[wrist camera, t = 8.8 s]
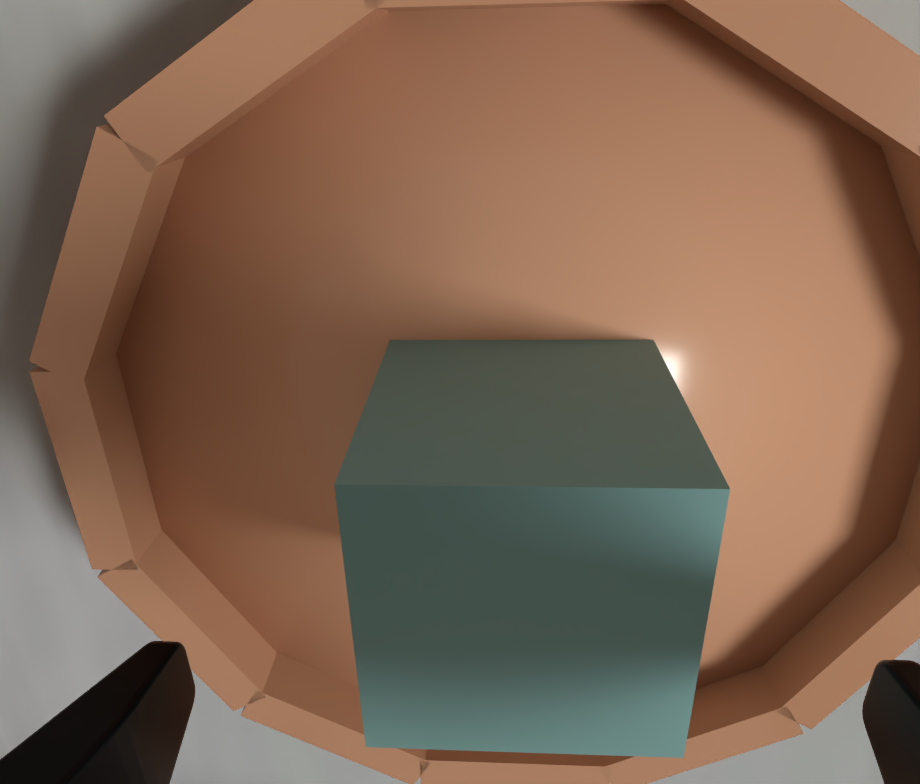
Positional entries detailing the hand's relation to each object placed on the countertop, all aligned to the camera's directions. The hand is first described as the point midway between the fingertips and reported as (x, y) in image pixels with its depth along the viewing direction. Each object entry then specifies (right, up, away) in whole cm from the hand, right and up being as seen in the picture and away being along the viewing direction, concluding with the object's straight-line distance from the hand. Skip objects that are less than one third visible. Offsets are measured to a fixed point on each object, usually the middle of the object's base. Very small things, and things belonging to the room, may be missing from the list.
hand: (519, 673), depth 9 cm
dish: (0, +3, +6) cm, 7 cm away
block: (0, +2, +5) cm, 6 cm away
